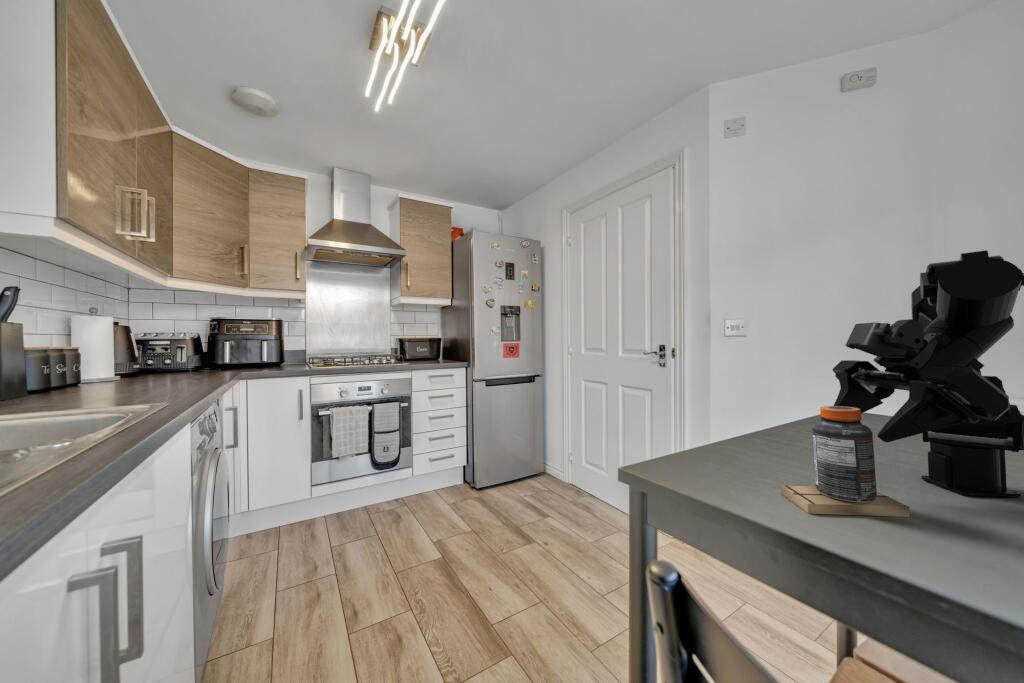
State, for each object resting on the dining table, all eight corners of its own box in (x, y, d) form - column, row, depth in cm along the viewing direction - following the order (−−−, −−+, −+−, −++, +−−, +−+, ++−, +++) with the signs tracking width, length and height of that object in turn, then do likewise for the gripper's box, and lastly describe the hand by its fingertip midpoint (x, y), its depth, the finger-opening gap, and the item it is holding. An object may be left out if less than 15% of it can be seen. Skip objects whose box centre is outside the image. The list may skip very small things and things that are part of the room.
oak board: (869, 496, 50) (869, 487, 50) (909, 516, 45) (909, 506, 45) (780, 494, 52) (780, 485, 52) (808, 513, 46) (807, 503, 46)
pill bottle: (851, 486, 51) (847, 403, 51) (891, 504, 45) (885, 410, 45) (804, 486, 52) (800, 404, 52) (837, 503, 46) (832, 411, 46)
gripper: (844, 307, 57) (767, 380, 59) (969, 289, 39) (852, 396, 40) (907, 357, 55) (826, 431, 57) (1069, 363, 37) (942, 471, 39)
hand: (853, 430), depth 49 cm, fingers open, 9 cm apart
